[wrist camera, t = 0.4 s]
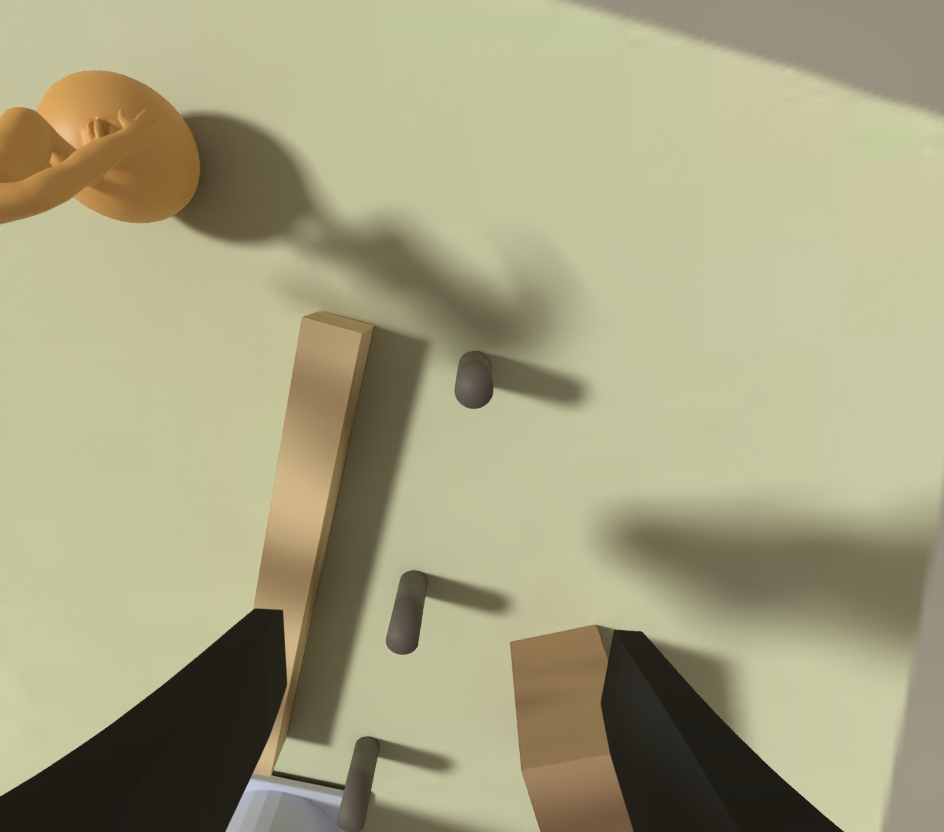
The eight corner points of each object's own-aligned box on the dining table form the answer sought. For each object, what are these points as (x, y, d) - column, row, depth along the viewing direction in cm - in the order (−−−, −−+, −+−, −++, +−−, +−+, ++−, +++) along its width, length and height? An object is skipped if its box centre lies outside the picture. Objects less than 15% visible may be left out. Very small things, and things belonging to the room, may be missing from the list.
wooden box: (622, 736, 24) (666, 882, 19) (542, 750, 25) (561, 899, 19) (596, 623, 22) (638, 748, 17) (509, 640, 23) (521, 770, 17)
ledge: (376, 757, 25) (361, 834, 21) (246, 729, 24) (209, 805, 21) (493, 355, 18) (497, 377, 15) (320, 308, 18) (285, 319, 15)
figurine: (263, 69, 16) (-305, -437, 4) (315, 263, 18) (14, 270, 6) (24, 124, 16) (-1051, -196, 5) (98, 306, 18) (-556, 389, 7)
